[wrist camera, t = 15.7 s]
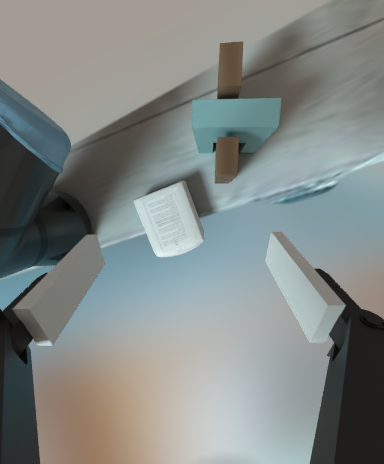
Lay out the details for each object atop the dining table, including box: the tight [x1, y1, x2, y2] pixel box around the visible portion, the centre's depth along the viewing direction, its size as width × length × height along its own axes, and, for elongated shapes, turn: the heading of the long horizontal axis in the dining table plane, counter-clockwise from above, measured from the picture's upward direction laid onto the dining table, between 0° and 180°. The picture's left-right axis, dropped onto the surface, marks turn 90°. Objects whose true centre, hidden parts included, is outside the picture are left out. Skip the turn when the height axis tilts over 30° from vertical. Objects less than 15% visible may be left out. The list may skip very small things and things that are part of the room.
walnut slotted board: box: [215, 42, 243, 183], centre depth 28 cm, size 2×14×12 cm, turn 0°
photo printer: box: [134, 181, 204, 257], centre depth 35 cm, size 10×4×12 cm
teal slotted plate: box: [192, 98, 281, 153], centre depth 28 cm, size 10×3×12 cm, turn 89°
